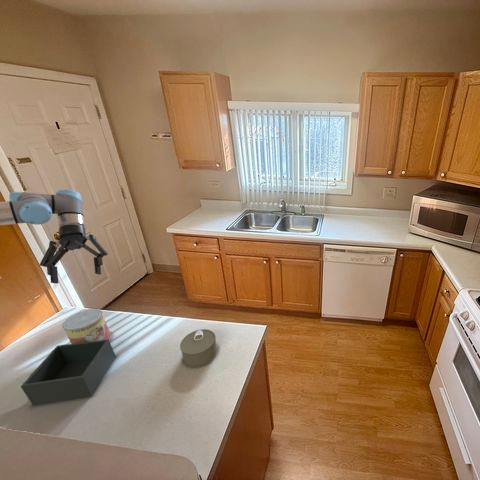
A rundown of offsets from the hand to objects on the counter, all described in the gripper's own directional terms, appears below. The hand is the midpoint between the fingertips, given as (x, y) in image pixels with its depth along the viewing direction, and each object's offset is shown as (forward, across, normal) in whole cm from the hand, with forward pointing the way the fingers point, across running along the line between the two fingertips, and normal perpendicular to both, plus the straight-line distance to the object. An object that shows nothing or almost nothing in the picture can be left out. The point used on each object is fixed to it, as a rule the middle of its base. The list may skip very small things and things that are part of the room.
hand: (77, 278), depth 97 cm
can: (+41, -38, +5) cm, 56 cm away
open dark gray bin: (+36, 0, +5) cm, 36 cm away
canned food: (+25, +1, -9) cm, 26 cm away
